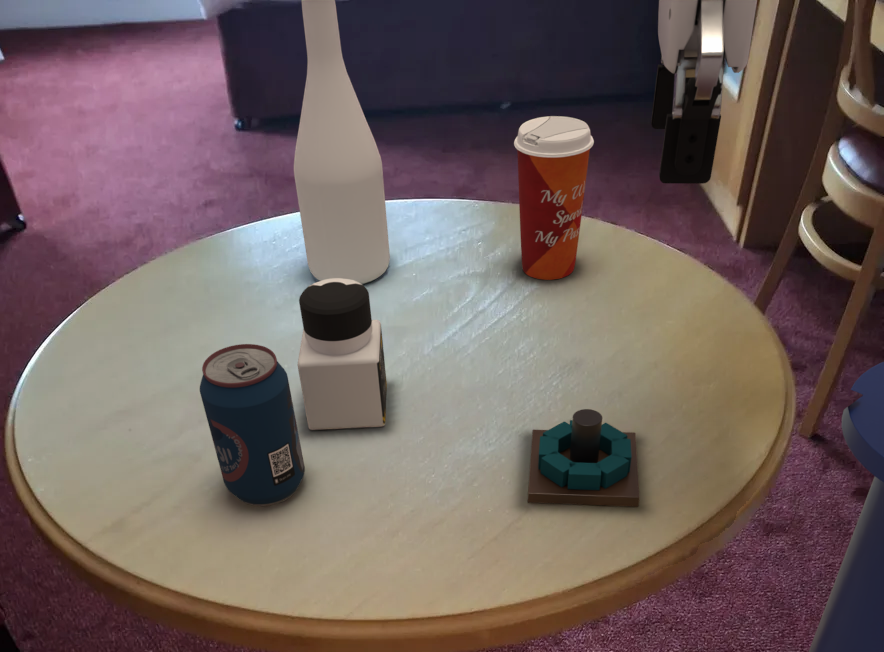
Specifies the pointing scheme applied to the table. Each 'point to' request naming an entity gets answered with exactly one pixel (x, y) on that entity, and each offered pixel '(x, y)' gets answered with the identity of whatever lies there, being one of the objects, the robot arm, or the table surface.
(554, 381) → the table surface
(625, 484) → the ring post
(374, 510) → the table surface
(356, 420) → the medicine bottle
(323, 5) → the wine bottle
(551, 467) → the ring
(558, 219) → the coffee cup
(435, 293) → the table surface
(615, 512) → the table surface
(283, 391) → the soda can
